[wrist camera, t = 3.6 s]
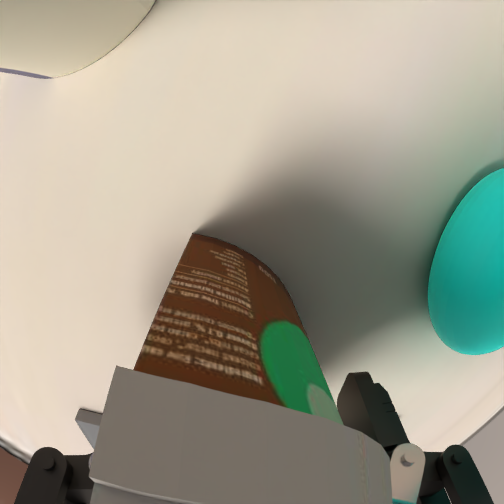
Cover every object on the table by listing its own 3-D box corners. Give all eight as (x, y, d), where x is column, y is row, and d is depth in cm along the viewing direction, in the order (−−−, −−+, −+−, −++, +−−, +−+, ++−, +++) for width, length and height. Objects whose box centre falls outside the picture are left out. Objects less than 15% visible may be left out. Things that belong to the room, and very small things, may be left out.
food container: (285, 417, 16) (306, 570, 7) (181, 409, 15) (164, 569, 6) (360, 221, 11) (545, 447, 2) (196, 194, 10) (65, 523, 1)
